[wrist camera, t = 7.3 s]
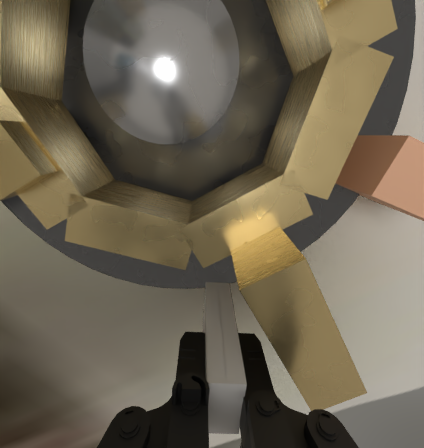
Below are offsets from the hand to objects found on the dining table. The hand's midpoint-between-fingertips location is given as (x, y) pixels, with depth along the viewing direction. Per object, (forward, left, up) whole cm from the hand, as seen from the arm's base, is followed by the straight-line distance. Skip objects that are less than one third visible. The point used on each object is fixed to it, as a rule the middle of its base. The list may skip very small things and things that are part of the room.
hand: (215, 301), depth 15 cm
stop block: (+1, +12, -4) cm, 12 cm away
